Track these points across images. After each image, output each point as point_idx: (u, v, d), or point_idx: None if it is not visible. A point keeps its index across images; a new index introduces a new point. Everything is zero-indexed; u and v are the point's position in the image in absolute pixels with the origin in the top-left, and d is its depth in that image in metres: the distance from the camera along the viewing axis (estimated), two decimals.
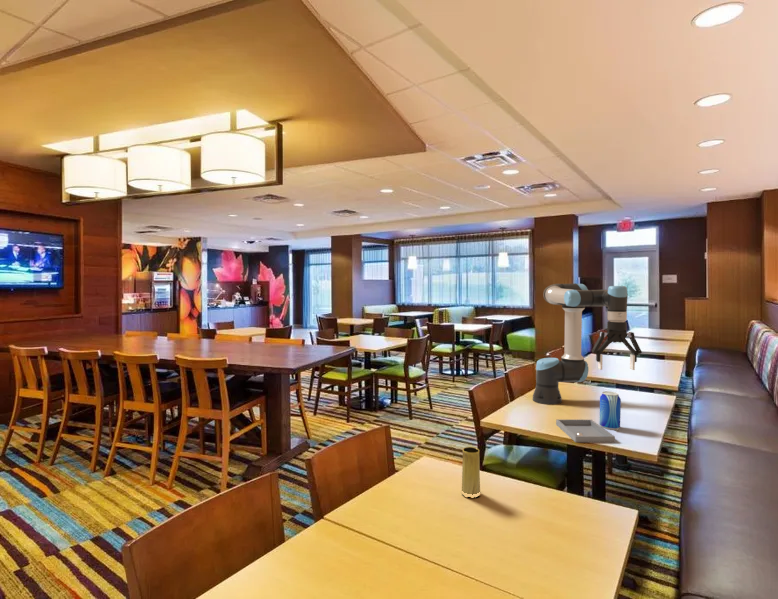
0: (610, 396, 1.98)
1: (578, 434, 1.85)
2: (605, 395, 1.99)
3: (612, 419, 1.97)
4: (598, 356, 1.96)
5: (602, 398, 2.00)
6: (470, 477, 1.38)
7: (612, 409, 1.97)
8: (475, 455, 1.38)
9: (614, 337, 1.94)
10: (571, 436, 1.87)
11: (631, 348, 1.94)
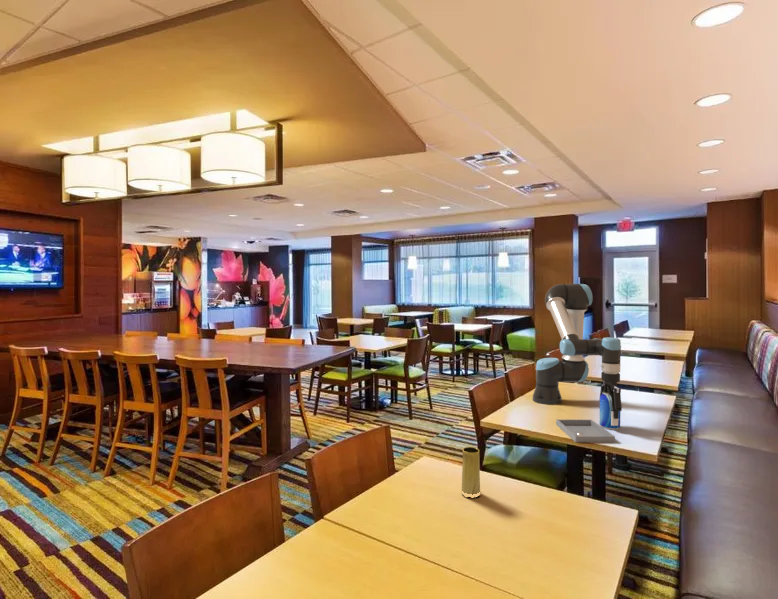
0: (610, 396, 1.98)
1: (578, 434, 1.85)
2: (605, 395, 1.99)
3: None
4: None
5: (602, 398, 2.00)
6: (470, 477, 1.38)
7: (611, 409, 1.97)
8: (475, 455, 1.38)
9: (604, 386, 2.02)
10: (571, 436, 1.87)
11: (612, 403, 1.97)
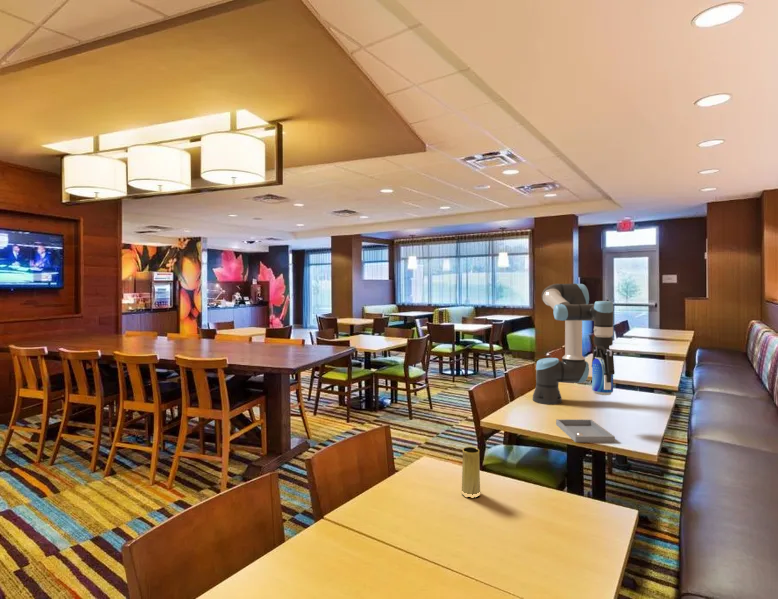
0: (603, 360, 1.94)
1: (578, 434, 1.85)
2: (598, 359, 1.96)
3: None
4: None
5: (595, 362, 1.96)
6: (470, 477, 1.38)
7: (604, 373, 1.93)
8: (475, 455, 1.38)
9: (596, 351, 1.99)
10: (571, 436, 1.87)
11: None
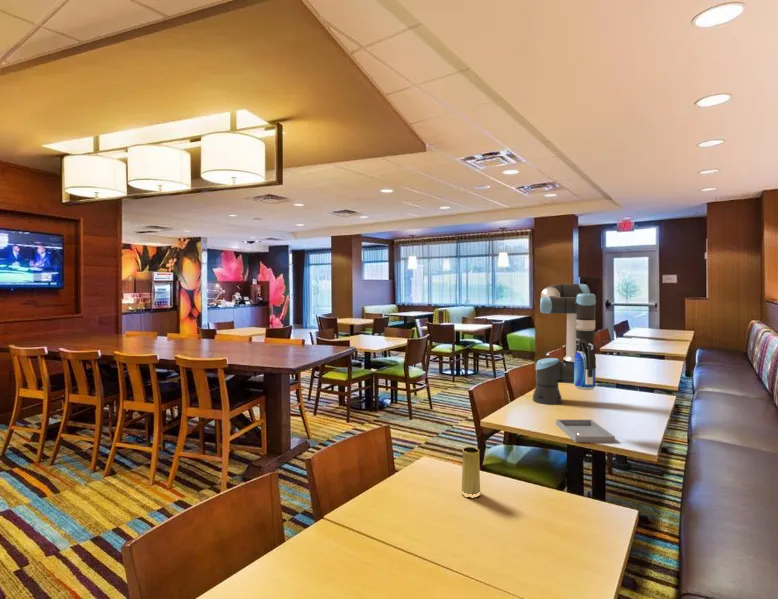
0: (584, 354, 1.89)
1: (578, 434, 1.85)
2: (579, 353, 1.90)
3: None
4: None
5: (576, 356, 1.91)
6: (470, 477, 1.38)
7: (586, 367, 1.88)
8: (475, 455, 1.38)
9: (579, 345, 1.93)
10: (571, 436, 1.87)
11: (586, 361, 1.88)
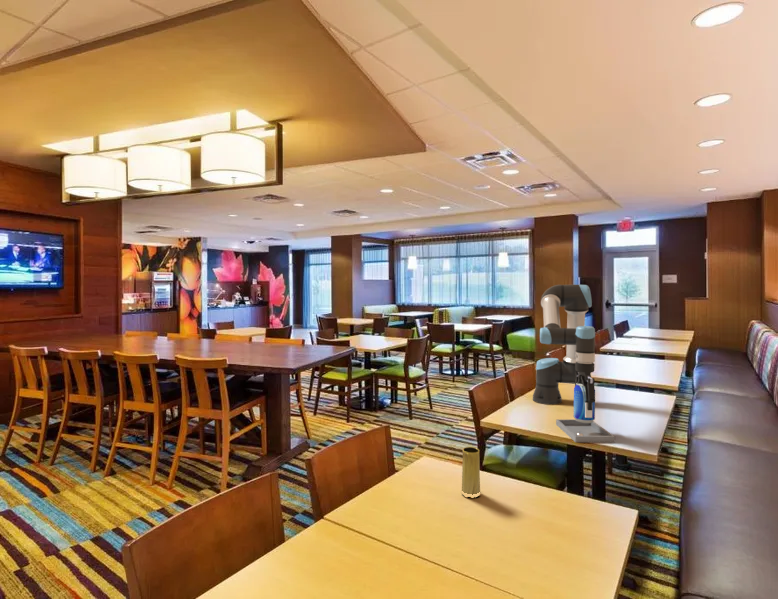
0: (584, 387, 1.90)
1: (578, 434, 1.85)
2: (579, 386, 1.91)
3: None
4: None
5: (576, 389, 1.92)
6: (470, 477, 1.38)
7: (585, 400, 1.89)
8: (475, 455, 1.38)
9: (578, 377, 1.94)
10: (571, 436, 1.87)
11: None
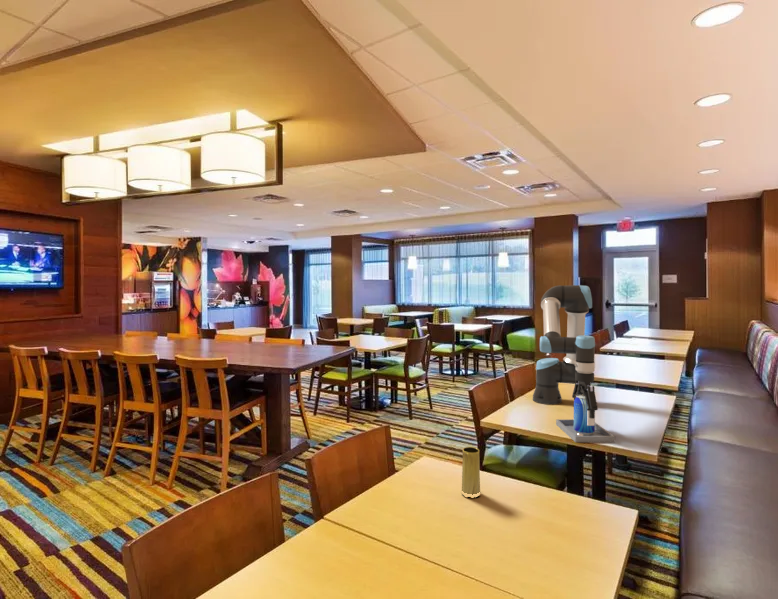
0: (584, 399, 1.90)
1: (578, 434, 1.85)
2: (579, 398, 1.91)
3: (586, 424, 1.89)
4: None
5: (576, 401, 1.92)
6: (470, 477, 1.38)
7: (585, 413, 1.89)
8: (475, 455, 1.38)
9: (578, 386, 1.94)
10: (571, 436, 1.87)
11: (587, 402, 1.87)
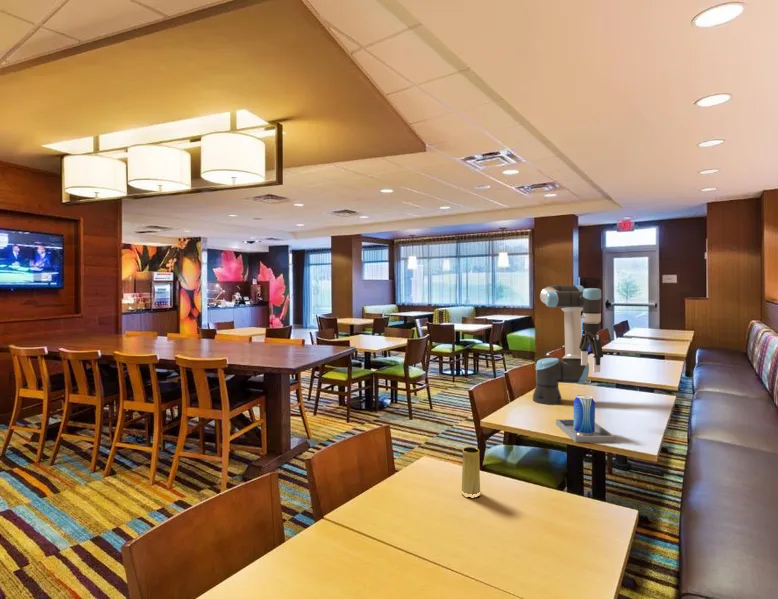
0: (584, 400, 1.90)
1: (578, 434, 1.85)
2: (579, 399, 1.91)
3: (586, 424, 1.89)
4: None
5: (576, 402, 1.92)
6: (470, 477, 1.38)
7: (585, 413, 1.89)
8: (475, 455, 1.38)
9: (585, 336, 2.05)
10: (571, 436, 1.87)
11: (593, 350, 1.98)
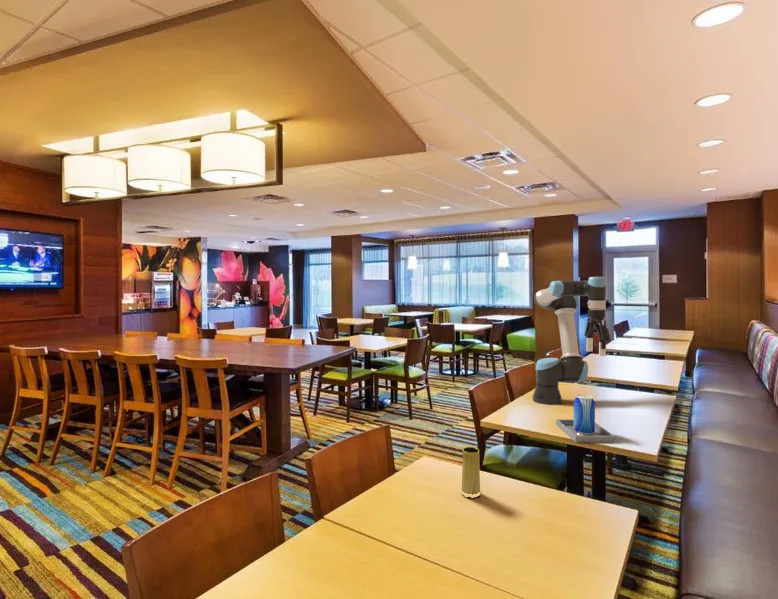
0: (584, 400, 1.90)
1: (578, 434, 1.85)
2: (579, 399, 1.91)
3: (586, 424, 1.89)
4: (587, 339, 2.20)
5: (576, 402, 1.92)
6: (470, 477, 1.38)
7: (585, 413, 1.89)
8: (475, 455, 1.38)
9: (590, 323, 2.14)
10: (571, 436, 1.87)
11: (599, 335, 2.07)
